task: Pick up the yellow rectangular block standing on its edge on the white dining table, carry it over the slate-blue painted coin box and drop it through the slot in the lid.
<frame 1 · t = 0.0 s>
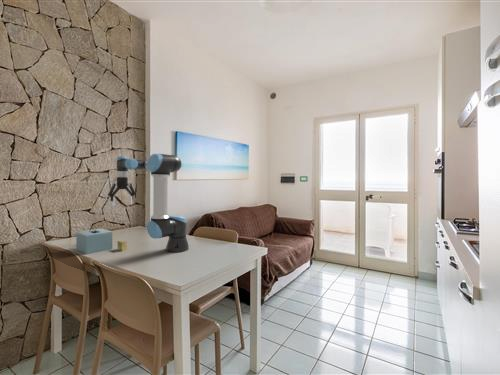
hand: (122, 204, 197), 28 cm above the table, fingers open, 13 cm apart
coin box: (94, 249, 176), on the table
yellow rectangular block: (121, 250, 176), on the table
plant pot: (98, 243, 192), on the table
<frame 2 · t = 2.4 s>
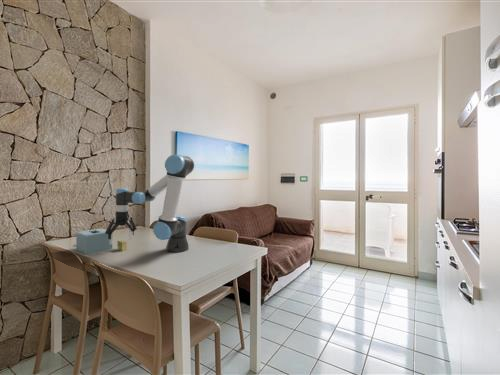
hand: (121, 242, 176), 5 cm above the table, fingers open, 13 cm apart
nothing on the table moved.
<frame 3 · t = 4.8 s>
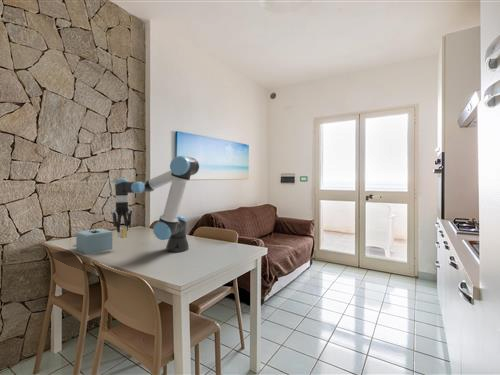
hand: (122, 236, 176), 9 cm above the table, fingers closed on yellow rectangular block, 3 cm apart
yellow rectangular block: (122, 237, 176), point 9 cm above the table, touching gripper
everything else where it was.
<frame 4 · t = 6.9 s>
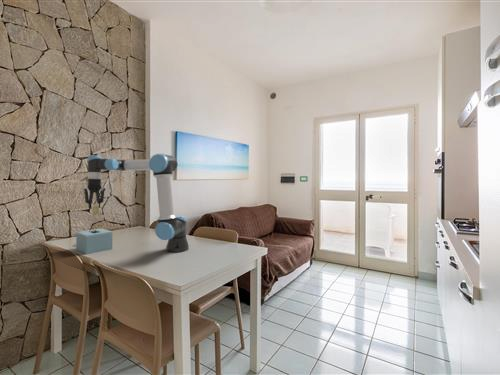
hand: (94, 213, 175), 25 cm above the table, fingers closed on yellow rectangular block, 3 cm apart
yellow rectangular block: (94, 213, 175), point 24 cm above the table, touching gripper
everything else where it was.
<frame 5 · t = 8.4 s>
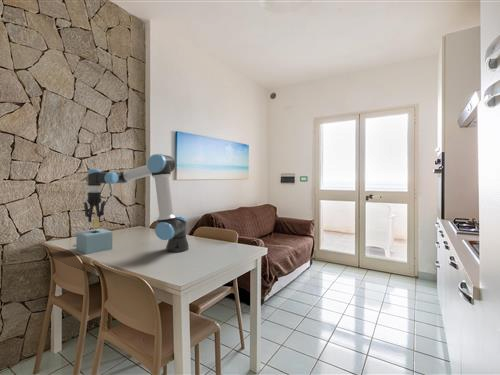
hand: (94, 226, 176), 16 cm above the table, fingers closed on yellow rectangular block, 3 cm apart
yellow rectangular block: (94, 227, 176), point 15 cm above the table, touching gripper
everything else where it was.
when the fingers open (13 cm above the table, at t = 9.1 s): yellow rectangular block drops 10 cm and tips over, resting on coin box.
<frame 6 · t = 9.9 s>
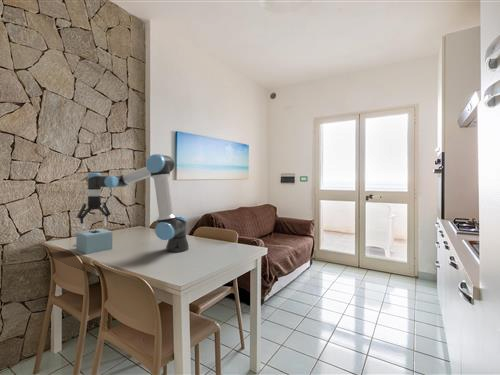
hand: (94, 227, 176), 15 cm above the table, fingers open, 13 cm apart
yellow rectangular block: (96, 245, 177), point 2 cm above the table, tilted 69°, touching coin box
everything else where it was.
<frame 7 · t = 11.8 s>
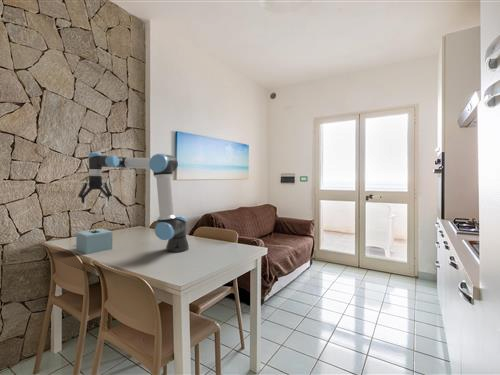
hand: (95, 207, 176), 29 cm above the table, fingers open, 13 cm apart
nothing on the table moved.
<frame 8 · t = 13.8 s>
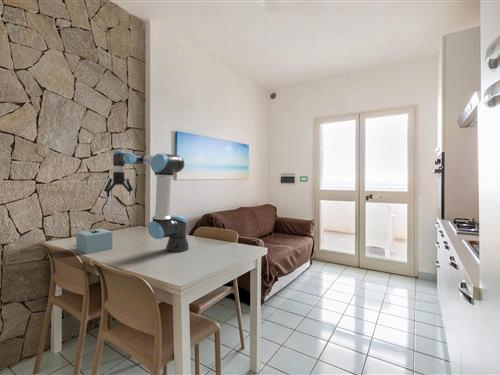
hand: (118, 200, 191), 32 cm above the table, fingers open, 13 cm apart
nothing on the table moved.
at the end: yellow rectangular block inside the target area on the coin box (1.1 cm from its centre), point 2.2 cm above the coin box's base; the gripper is holding nothing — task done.
